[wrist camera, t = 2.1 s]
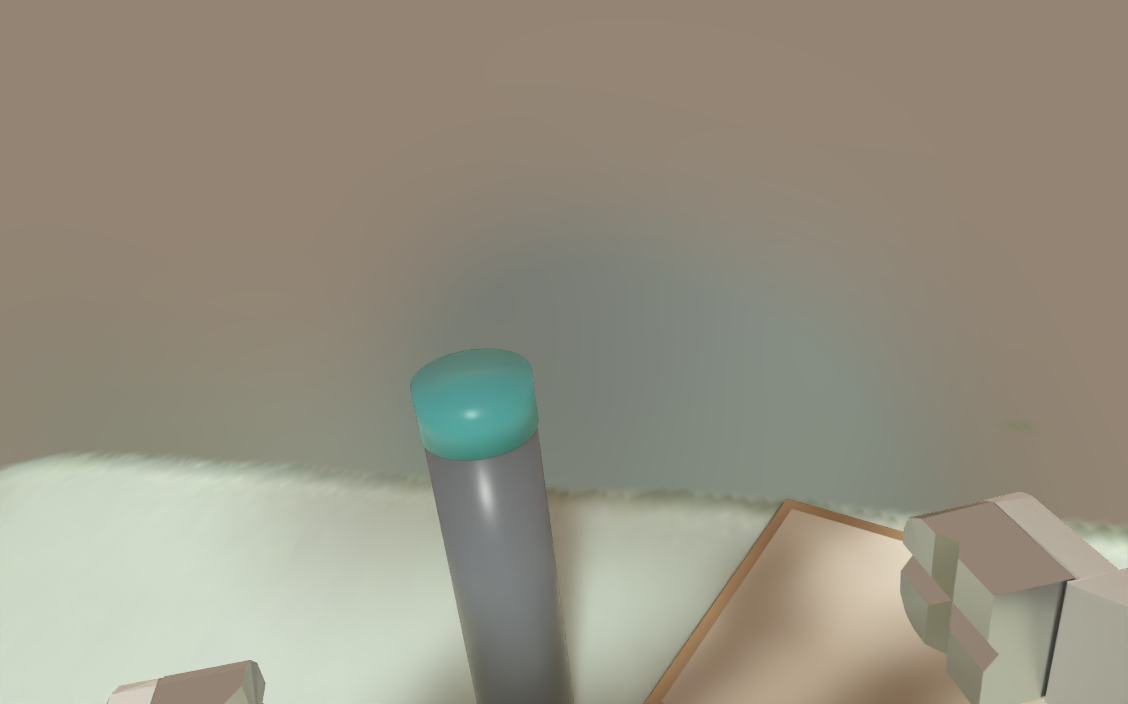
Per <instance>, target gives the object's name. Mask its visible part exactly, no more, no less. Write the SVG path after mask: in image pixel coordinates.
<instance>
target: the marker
mask: <svg viewBox="0 0 1128 704" xmlns="http://www.w3.org/2000/svg"><path fill="white" fill-rule="evenodd" d="M410 388H411V394H412V398H413V403H414V408H415V413H416V418H417V423H418V428H419V432H420V437H421V442H422V444H423V445H424V447H425V452H426V457H427V462H428V467H429V472H430V476H431V481H432V486H433V491H434V496H435V501H436V506H437V511H438V515H439V520H440V525H441V530H442V535H443V540H444V545H445V550H446V555H447V559H448V564H449V569H450V574H451V579H452V584H453V589H454V594H455V598H456V603H457V608H458V613H459V618H460V623H461V628H462V633H463V638H464V642H465V647H466V652H467V657H468V662H469V667H470V672H471V677H472V681H473V686H474V691H475V696H476V701H477V704H574V700H573V692H572V685H571V677H570V670H569V662H568V654H567V647H566V639H565V632H564V624H563V617H562V609H561V602H560V594H559V587H558V579H557V572H556V564H555V556H554V549H553V541H552V534H551V526H550V519H549V511H548V504H547V496H546V489H545V481H544V474H543V467H542V459H541V451H540V443H539V436H538V428H537V426H538V414H537V407H536V399H535V391H534V383H533V376H532V369H531V365H530V363H529V362H528V361H527V360H526V359H525V358H524V357H522V356H521V355H519V354H516V353H514V352H511V351H506V350H500V349H474V350H467V351H461V352H457V353H453V354H450V355H447V356H444V357H441V358H439V359H436V360H434V361H432V362H431V363H429V364H427V365H426V366H424V367H423V368H421V369H420V370H419V371H418V372H417V373H416V374H415V376H414V377H413V379H412V381H411V384H410Z"/></svg>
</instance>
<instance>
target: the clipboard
mask: <svg viewBox="0 0 1128 704" xmlns="http://www.w3.org/2000/svg"><path fill="white" fill-rule="evenodd" d="M903 537H904V532H902V531H898V530H895V529H891V528H888V527H884V526H881V525H878V524H874V523H871V522H867V521H864V520H860V519H857V518H853V517H850V516H846V515H843V514H839V513H836V512H832V511H829V510H825V509H822V508H818V507H815V506H811V505H808V504H804V503H801V502H797V501H794V500H790V499H786V500H785V502H784V503H783V505H782V506H781V508H780V509H779V511H778V512H777V513H776V515H775V516H774V518H773V519H772V521H771V522H770V523H769V525H768V526H767V528H766V529H765V531H764V532H763V534H762V535H761V536H760V538H759V539H758V541H757V542H756V544H755V545H754V546H753V548H752V549H751V551H750V552H749V554H748V555H747V557H746V558H745V559H744V561H743V562H742V564H741V565H740V567H739V568H738V569H737V571H736V572H735V574H734V575H733V577H732V578H731V580H730V581H729V582H728V584H727V585H726V587H725V588H724V590H723V591H722V592H721V594H720V595H719V597H718V598H717V600H716V601H715V603H714V604H713V605H712V607H711V608H710V610H709V611H708V613H707V614H706V616H705V617H704V618H703V620H702V621H701V623H700V624H699V626H698V627H697V628H696V630H695V631H694V633H693V634H692V636H691V637H690V639H689V640H688V641H687V643H686V644H685V646H684V647H683V649H682V650H681V651H680V653H679V654H678V656H677V657H676V659H675V660H674V662H673V663H672V664H671V666H670V667H669V669H668V670H667V672H666V673H665V674H664V676H663V677H662V679H661V680H660V682H659V683H658V685H657V686H656V687H655V689H654V690H653V692H652V693H651V695H650V696H649V697H648V699H647V700H646V702H645V703H644V704H971V703H970V702H969V701H968V699H967V698H966V697H965V696H964V694H963V693H962V692H961V690H960V689H959V688H958V687H957V685H956V684H955V683H954V681H953V680H952V679H951V678H950V676H949V675H948V674H947V672H946V671H945V668H946V656H947V655H946V654H944V653H942V652H940V651H938V650H936V649H934V648H932V647H930V646H928V645H926V644H924V642H923V641H922V640H921V638H920V637H919V636H918V634H917V633H916V632H915V630H914V629H913V627H912V625H911V623H910V621H909V619H908V617H907V615H906V613H905V609H904V605H903V601H902V597H901V594H900V578H901V570H902V569H903V567H904V566H905V565H906V563H907V562H908V561H909V559H910V558H911V557H912V554H911V552H910V551H909V550H908V549H907V548H906V546H905V545H904V544H903ZM1022 704H1047V703H1045V699H1040V700H1036V701H1031V702H1026V703H1022Z"/></svg>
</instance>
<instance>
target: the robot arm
mask: <svg viewBox="0 0 1128 704" xmlns="http://www.w3.org/2000/svg"><path fill="white" fill-rule="evenodd" d="M903 544H904V545H905V546H906V548H907V549H908V550H909V551H910V552H911V554H912V557H911V558H910V559H909V561H908V562H907V563H906V565H905V566H904V567H903V569H902V570H901V578H900V594H901V597H902V601H903V605H904V609H905V613H906V615H907V617H908V619H909V621H910V623H911V625H912V627H913V629H914V630H915V632H916V633H917V634H918V636H919V637H920V638H921V640H922V641H923V642H924V644H926V645H928V646H930V647H932V648H934V649H936V650H938V651H940V652H942V653H944V654H946V655H947V656H946V668H945V671H946V672H947V674H948V675H949V676H950V678H951V679H952V680H953V681H954V683H955V684H956V685H957V687H958V688H959V689H960V690H961V692H962V693H963V694H964V696H965V697H966V698H967V699H968V701H969V702H970V703H971V704H1022V703H1026V702H1031V701H1036V700H1040V699H1045V703H1047V704H1128V568H1126V569H1121V570H1118V569H1117V568H1116V567H1115V566H1114V565H1113V564H1111V563H1110V562H1109V561H1108V560H1107V559H1105V558H1104V557H1103V556H1102V555H1101V554H1100V553H1098V552H1097V551H1096V550H1095V549H1094V548H1092V547H1091V546H1090V545H1089V544H1088V543H1087V542H1085V541H1084V540H1083V539H1082V538H1081V537H1080V536H1078V535H1077V534H1076V533H1075V532H1074V531H1072V530H1071V529H1070V528H1069V527H1068V526H1067V525H1065V524H1064V523H1063V522H1062V521H1061V520H1060V519H1058V518H1057V517H1056V516H1055V515H1054V514H1052V513H1051V512H1050V511H1049V510H1048V509H1047V508H1045V507H1044V506H1043V505H1042V504H1041V503H1039V502H1038V501H1037V500H1036V499H1035V498H1034V497H1032V496H1031V495H1028V494H1025V493H1022V492H1017V493H1012V494H1008V495H1004V496H1000V497H996V498H991V499H987V500H984V501H982V502H976V503H972V504H967V505H963V506H959V507H954V508H950V509H945V510H941V511H936V512H932V513H927V514H923V515H918V516H914V517H910V518H909V520H908V521H907V523H906V525H905V527H904V537H903ZM264 689H265V681H264V679H263V676H262V674H261V671H260V669H259V667H258V664H257V663H256V662H254V661H251V660H248V661H243V662H238V663H232V664H227V665H222V666H217V667H212V668H206V669H201V670H196V671H191V672H186V673H180V674H175V675H170V676H165V677H164V678H160V679H154V680H149V681H144V682H138V683H133V684H128V685H122V686H119V687H118V688H117V689H116V690H115V691H114V692H113V693H112V694H111V696H110V697H109V699H108V701H107V704H263V703H262V702H263V695H264Z"/></svg>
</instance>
